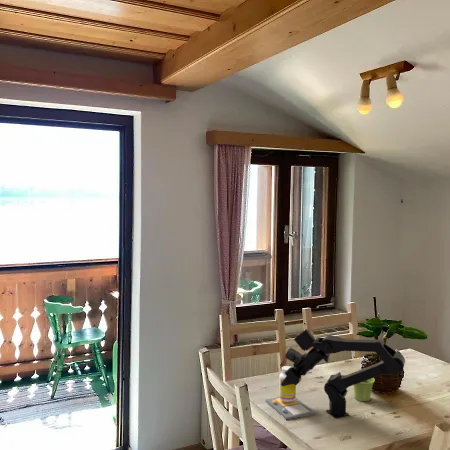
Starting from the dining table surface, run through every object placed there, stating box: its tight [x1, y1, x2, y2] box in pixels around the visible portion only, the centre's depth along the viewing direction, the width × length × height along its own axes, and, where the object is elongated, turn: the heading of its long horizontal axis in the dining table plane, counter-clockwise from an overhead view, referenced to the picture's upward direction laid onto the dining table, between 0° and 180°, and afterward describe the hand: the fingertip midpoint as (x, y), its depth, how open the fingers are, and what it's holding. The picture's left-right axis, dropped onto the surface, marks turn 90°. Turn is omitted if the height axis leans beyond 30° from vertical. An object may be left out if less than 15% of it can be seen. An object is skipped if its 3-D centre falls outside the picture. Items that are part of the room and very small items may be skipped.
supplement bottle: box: [278, 365, 297, 402], centre depth 200 cm, size 7×7×13 cm
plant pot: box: [353, 377, 376, 402], centre depth 206 cm, size 9×9×9 cm
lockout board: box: [265, 396, 316, 420], centre depth 197 cm, size 17×13×2 cm
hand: (284, 382), depth 201 cm, fingers closed on supplement bottle, 6 cm apart
